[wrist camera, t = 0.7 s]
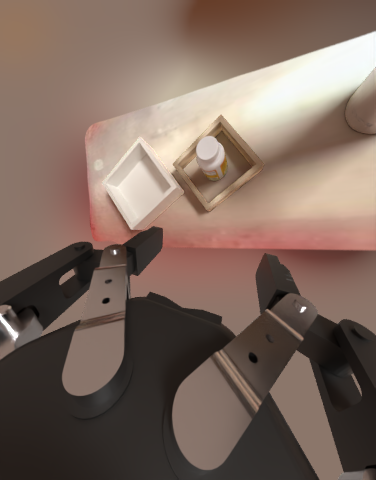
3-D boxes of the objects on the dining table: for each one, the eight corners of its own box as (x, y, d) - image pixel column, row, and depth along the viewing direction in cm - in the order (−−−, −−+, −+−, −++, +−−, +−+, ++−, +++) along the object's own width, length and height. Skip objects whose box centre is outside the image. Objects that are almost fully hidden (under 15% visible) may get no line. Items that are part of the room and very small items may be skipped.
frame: (222, 124, 33) (221, 114, 31) (262, 169, 31) (264, 163, 28) (177, 169, 38) (172, 164, 35) (209, 211, 36) (206, 210, 33)
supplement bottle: (219, 152, 34) (212, 123, 25) (232, 171, 33) (228, 148, 24) (200, 167, 36) (186, 146, 27) (212, 186, 35) (201, 170, 26)
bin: (151, 147, 40) (139, 136, 35) (184, 192, 37) (176, 186, 33) (116, 187, 45) (101, 182, 40) (143, 229, 42) (131, 229, 38)
